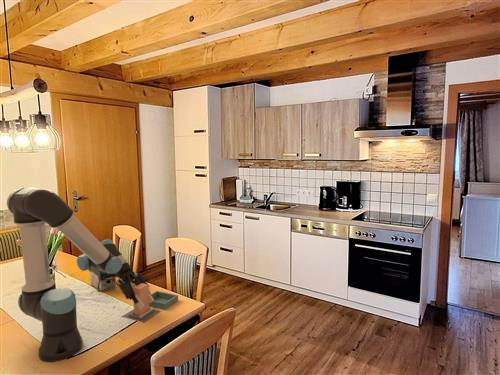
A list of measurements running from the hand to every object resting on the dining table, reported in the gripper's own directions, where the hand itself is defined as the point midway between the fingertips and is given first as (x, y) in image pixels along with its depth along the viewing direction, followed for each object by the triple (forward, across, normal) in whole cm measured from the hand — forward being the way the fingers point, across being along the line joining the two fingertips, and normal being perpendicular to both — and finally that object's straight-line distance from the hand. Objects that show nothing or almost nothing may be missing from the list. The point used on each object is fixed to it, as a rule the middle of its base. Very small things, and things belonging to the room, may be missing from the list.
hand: (147, 304), depth 153 cm
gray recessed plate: (+2, 0, -7) cm, 7 cm away
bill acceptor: (-30, -18, -39) cm, 52 cm away
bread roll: (-13, -21, -23) cm, 34 cm away
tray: (+2, -13, -7) cm, 15 cm away
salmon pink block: (+1, 0, -6) cm, 7 cm away
